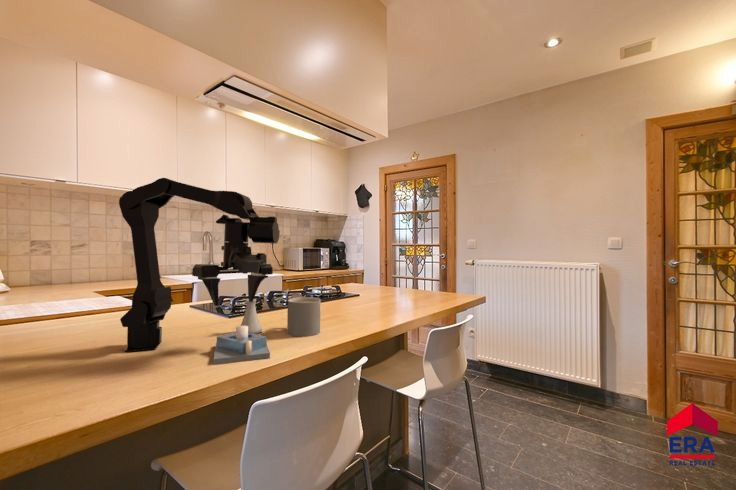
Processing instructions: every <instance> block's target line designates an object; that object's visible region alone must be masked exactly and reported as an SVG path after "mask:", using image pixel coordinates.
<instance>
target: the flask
mask: <svg viewBox="0 0 736 490" xmlns="http://www.w3.org/2000/svg"><path fill="white" fill-rule="evenodd" d="M256 302H257V298H254V299H253V302H249V298H247V299H245V303H246V307H245V311H244V312H245V313H244V315H243V318H242V322H241V324H240V326H248V332H249V333H253V334H257V335H258V334H259V333H262V332H263V327H262V324H261V322H260V319H259V316H258V314H257V308H256Z"/></svg>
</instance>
